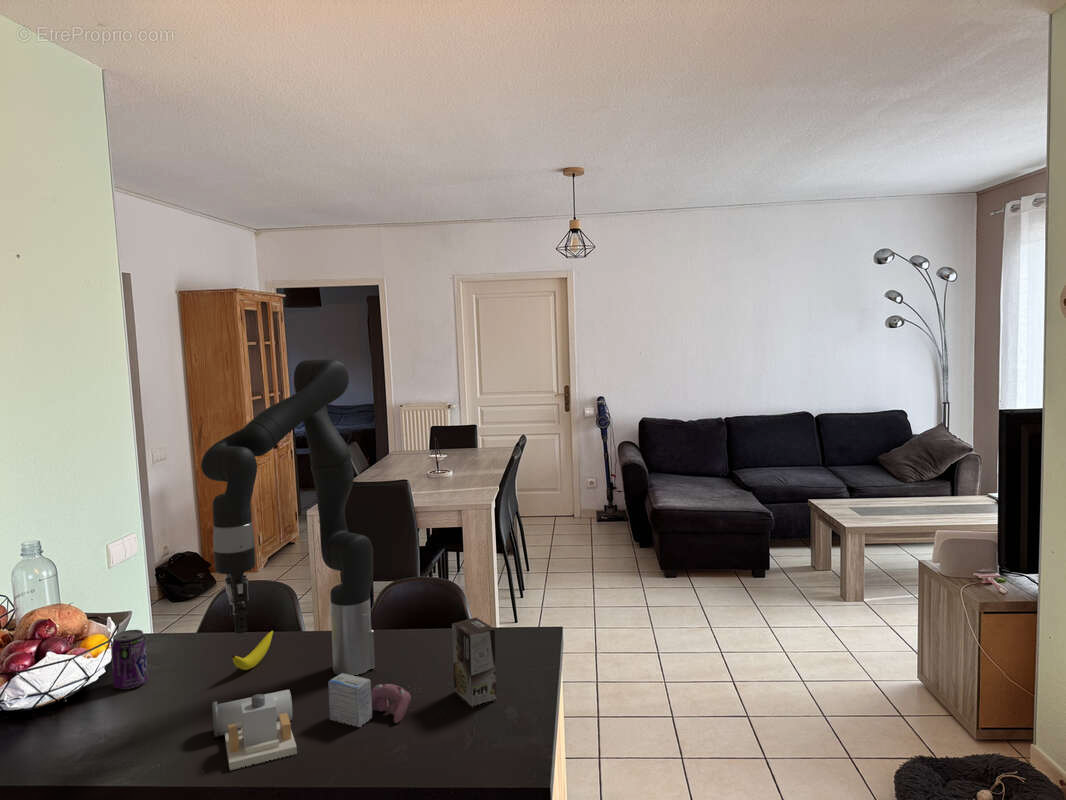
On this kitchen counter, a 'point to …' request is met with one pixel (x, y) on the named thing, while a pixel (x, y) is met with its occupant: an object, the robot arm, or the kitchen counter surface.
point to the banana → (254, 654)
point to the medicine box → (350, 699)
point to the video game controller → (393, 693)
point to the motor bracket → (230, 725)
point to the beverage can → (129, 659)
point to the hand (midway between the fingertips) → (239, 625)
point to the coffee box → (474, 661)
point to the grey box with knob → (259, 720)
